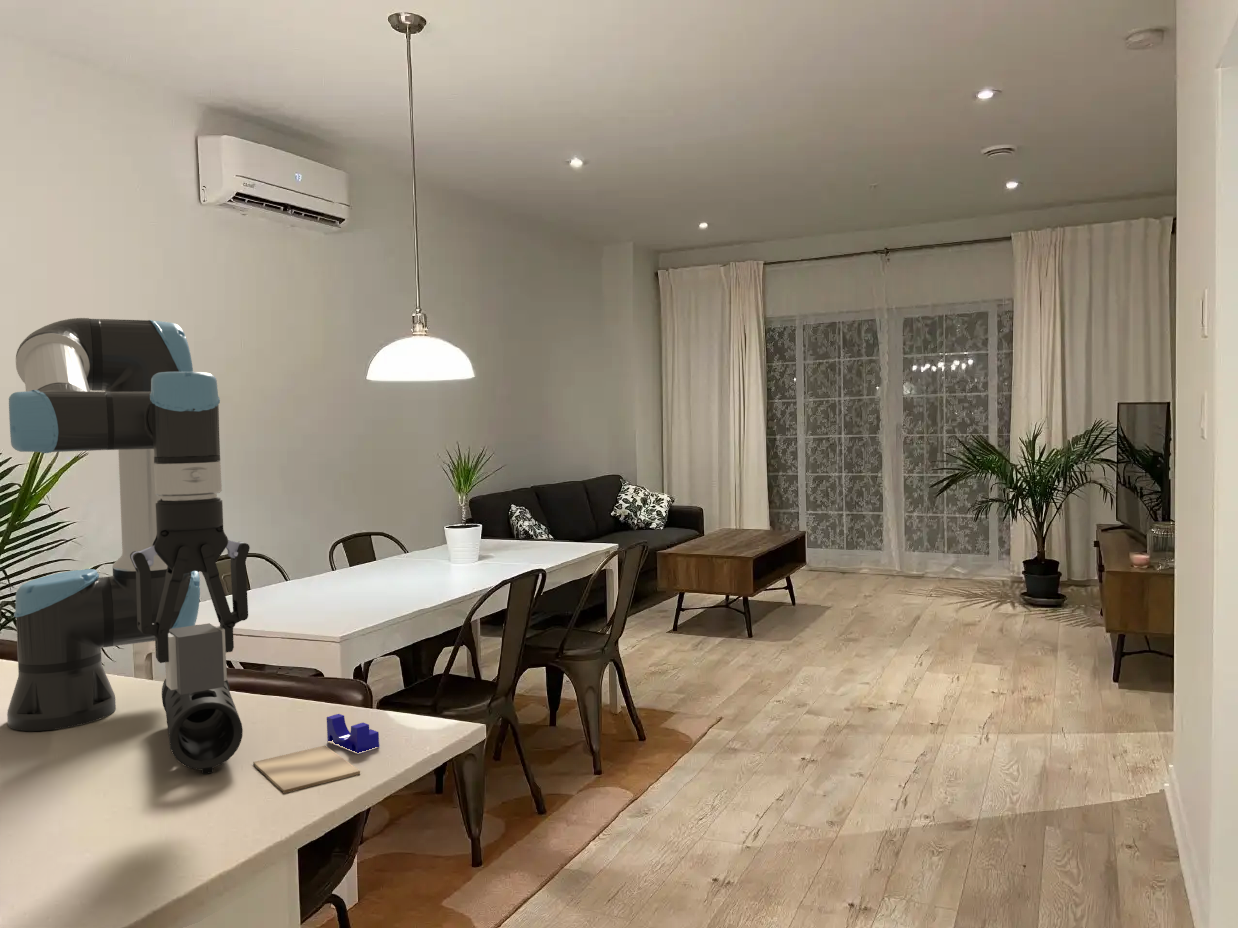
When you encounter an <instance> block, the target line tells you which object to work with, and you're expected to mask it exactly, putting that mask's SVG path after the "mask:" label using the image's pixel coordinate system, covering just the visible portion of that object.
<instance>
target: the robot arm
mask: <svg viewBox="0 0 1238 928" xmlns="http://www.w3.org/2000/svg"><path fill="white" fill-rule="evenodd" d="M190 351H191V350H190V347H189V343H188V340H187V337H186V334H185V331H184V330H183V329H182V327H181V326H180V325H179V324H177V323H175V322H170V321H161V320H160V321H159V320H152V319H146V320H145V319H144V320H143V319H119V318H118V319H116V318H115V319H113V318H111V319H109V318H89V317H77V318H75V317H74V318H68V319H62V320H58V321H55V322H51V323H50V324H49V323H48V324H47V325H44V326H42V327H41V328H38V329H36V330H35V331H33V332H31V333H30V334H29V335H27V336H26V337H25V339H23V341H22V342H21V343H20V345H19V346H18V348H17V350H16V354H15V368H16V371H17V375H18V376H19V378H20V380H21V381H22V382H23V383H24V385H25V387H24V388H25V391H15V392H13V393H11V394H10V396H9V398H8V413H9V414H8V416H9V417H8V419H9V435H10V445H11V447H12V449H14V450H15V451H17V452H23V453H25V452H26V453H27V452H28V453H35V452H36V453H41V454H50V453H61V452H62V453H63V452H65V453H66V452H90V451H93V452H94V451H116V450H117V452H118V471H119V472H118V474H119V476H118V477H119V494H120V495H119V498H120V503H119V504H120V525H121V548H122V551H121V552H122V553H121V556H120V557H118V559H117V560H116V561H115V562H114V563H113V564H112V575H110V576H104V577H100V573H98V570H96V569H94V568H93V569H92V568H85V569H79V570H78V569H75V570H69V571H64V572H59V573H53V574H50V575H46V576H42V577H38V578H35V579H32V580H29V581H27V582H24V583H23V584H22V585H20V586H19V587H18V589H16V592H15V608H14V609H15V611H14V613H13V616H14V618H15V620H16V621H15V622H16V641H17V642H16V643H17V645H16V646H17V667H18V668H17V670H18V675H17V679H16V682H15V686H14V690H13V692H12V696H11V698H10V699H11V700H10V702H9V705H8V709H7V713H6V715H7V726H8V727H9V728H10V729H12V730H15V731H23V732H39V731H40V732H41V731H51V730H59V729H65V728H71V727H72V728H73V727H77V726H81V725H86V724H89V723H93V722H95V721H99V720H101V719H103V718H105V717H108V716H110V715H111V714H113V713H114V712H115V711H116V709H117V708H116V707H117V705H116V703H117V701H116V694H115V691H114V690H113V687H112V685H111V683H110V680H109V678H108V676H107V674H106V671H105V669H104V666H103V664H102V662H103V661H102V648H110V647H118V646H125V645H134V644H142V643H149V642H154V643H155V645H154V646H155V648H154V650H155V658H156V661H157V662H158V663H160V664H162V663H165V664H164V666H165V679H166V686H167V687H168V688H169V689H170V690H175V689H178V686H177V663H176V639H175V636H174V635H173V634H172V633H169V630H170V629H173V628H180V627H187V626H194V625H196V623H197V619H198V614H199V608H200V599H201V598H200V597H201V596H200V595H201V587H200V585H201V584H200V581H201V578H200V573H201V574H202V576H203V577H204V580H205V583H206V587H207V590H208V593H209V596H210V598H211V602H212V605H213V609H214V612H215V614H216V618H217V620H218V623H219V625H216V626H215V625H214V626H215V627H216V628H218V629H219V630H221V631H222V643H223V668H224V681H226V680H228V678H227V677H228V675H227V674H228V673H227V655H226V654H227V653H231V652H232V653H233V650H234V648H235V646H234V645H235V643H234V627H235V626H236V624H238V623H239V622H243V621H246V620H247V619H248V618H249V603H248V587H247V586H248V585H247V584H248V583H247V581H248V580H247V567H246V565H247V564H246V561H247V558H248V555H249V552H250V549H251V547H250V544H248V543H247V542H243V541H233V540H229V538H228V536H227V535H226V533H225V530H224V512H223V511H224V510H223V500H222V499H221V497H218V496H217V495H218V494H220V493H221V492H222V491H223V489H222V486H223V485H222V471H221V469H222V467H221V451H220V450H221V448H220V447H221V445H220V412H219V411H220V410H219V408H220V407H219V404H220V401H221V400H220V399H221V398H220V396H219V392H218V391H219V390H218V382H217V381H218V380H217V378H216V376H215V375H213V374H212V373H210V372H203V371H194V369H193V361H192V356H191V352H190ZM225 550H227V556H228V557H229V558H230V578H231V595H232V611H231V608H230V605H229V603H228V600H227V597H226V594H225V590H224V587H223V584H222V581H221V578H220V572H219V569H218V566H217V563H216V562H217V561H218V560H219V558H220V557H221V555H222V553H223V552H225ZM199 572H200V573H199Z"/></svg>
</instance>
